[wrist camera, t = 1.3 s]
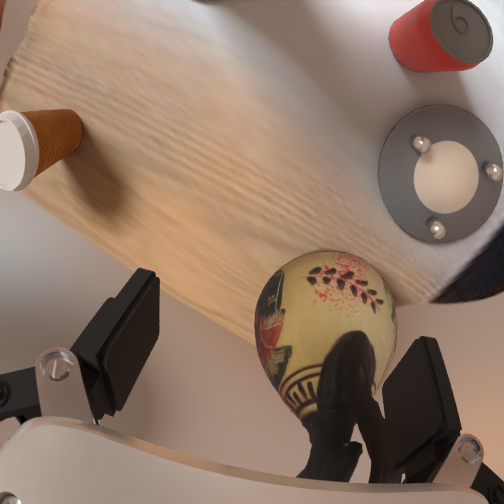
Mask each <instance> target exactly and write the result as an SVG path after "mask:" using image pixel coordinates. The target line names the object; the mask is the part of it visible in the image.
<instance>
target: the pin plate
mask: <svg viewBox="0 0 504 504" xmlns="http://www.w3.org/2000/svg"><path fill="white" fill-rule="evenodd" d="M413 134H419V135H421V136H423V137H425V138H427V139H428V140H429V141H430V142H431V149H430V151H429V152H428V153H421V152H419V151H418V150H416V149H415V148H413V147H412V146H411V145H410V137H411V136H412V135H413ZM485 161H490V162H492V163H493V164H495V165H497V166H499V167H500V168H501V169H502V170H503V162H502V156H501V153H500V149H499V146H498V144H497V142H496V139H495V138H494V136H493V134H492V133H491V131H490V130H489V129H488V127H487V126H486V125H485V124H484V123H483V122H482V121H481V120H480V119H479V118H477V117H476V116H475V115H473V114H471V113H469V112H468V111H466V110H463V109H460V108H457V107H452V106H447V105H431V106H426V107H422V108H419V109H417V110H415V111H413V112H411V113H410V114H408V115H407V116H405V117H404V118H403V119H402V120H400V121H399V122H398V123H397V124H396V126H395V127H394V128H393V129H392V131H391V132H390V134H389V135H388V137H387V139H386V141H385V143H384V145H383V148H382V151H381V154H380V159H379V165H378V182H379V187H380V192H381V195H382V198H383V201H384V203H385V205H386V207H387V209H388V211H389V213H390V214H391V216H392V217H393V219H394V220H395V221H396V223H397V224H398V225H399V226H400V227H401V228H402V229H403V230H404V231H406V232H407V233H409V234H410V235H411V236H413V237H415V238H417V239H420V240H423V241H426V242H432V243H447V242H452V241H456V240H459V239H462V238H464V237H466V236H468V235H470V234H471V233H473V232H474V231H475V230H477V229H478V228H479V227H480V226H481V225H482V224H483V223H484V222H485V221H486V220H487V219H488V217H489V216H490V214H491V213H492V211H493V210H494V208H495V206H496V204H497V201H498V199H499V196H500V193H501V189H502V183H503V177H502V179H501V180H499V181H495V180H494V179H492V178H491V177H489V176H488V175H486V174H484V173H483V171H482V165H483V163H484V162H485ZM430 217H436V218H437V219H438V220H439V221H440V223H441V224H442V225H443V226H444V228H445V230H446V233H445V236H444V237H443V238H441V239H436V238H434V236H433V235H432V233H431V232H430V230H429V229H428V228H427V226H426V222H427V220H428V219H429V218H430Z"/></svg>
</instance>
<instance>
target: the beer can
mask: <svg viewBox="0 0 504 504" xmlns="http://www.w3.org/2000/svg"><path fill="white" fill-rule="evenodd" d="M389 43H390V47H391V49H392V51H393V54H394V56H395V57H396V58H397V59H398V60H399V61H400V63H401V64H403V65H404V66H406V67H407V68H409V69H411V70H414V71H417V72H441V71H464V70H467V69H471V68H473V67H475V66H476V65H478V64H479V63H480V62H482V61H483V60H485V59H486V58H487V57H488V56H489V54H490V52H491V50H492V46H493V35H492V29H491V27H490V25H489V22H488V20H487V18H486V17H485V16H484V14H483V13H482V12H481V10H480V9H479V8H478V7H477V6H475V5H474V4H473V3H472V2H470V1H468V0H425V1H423V2H422V3H420V4H419V5H417V6H416V7H414V8H413V9H411V10H410V11H409V12H407V13H406V14H404V15H403V16H402V17H400V18H399V19H398V20H396V21H395V22H394V23H393V25H392V26H391V28H390V32H389Z"/></svg>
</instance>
